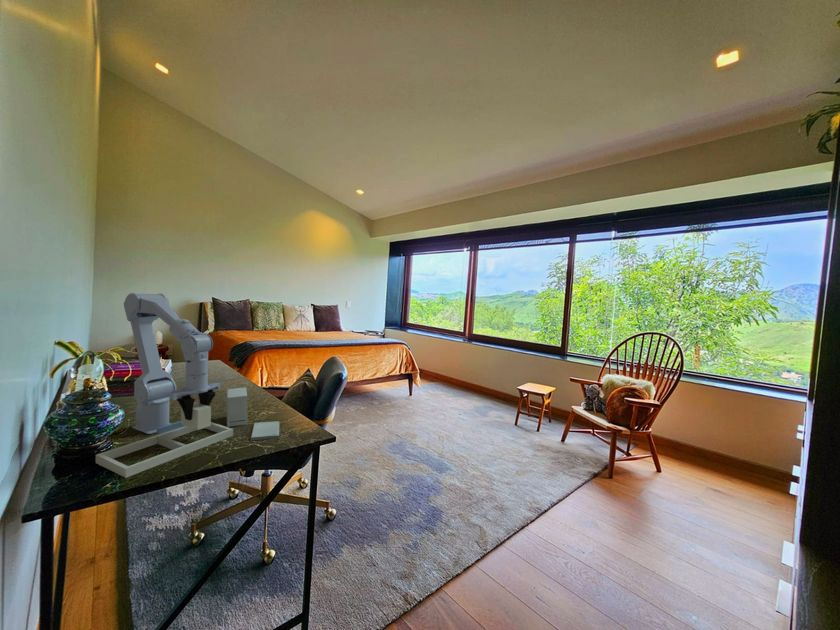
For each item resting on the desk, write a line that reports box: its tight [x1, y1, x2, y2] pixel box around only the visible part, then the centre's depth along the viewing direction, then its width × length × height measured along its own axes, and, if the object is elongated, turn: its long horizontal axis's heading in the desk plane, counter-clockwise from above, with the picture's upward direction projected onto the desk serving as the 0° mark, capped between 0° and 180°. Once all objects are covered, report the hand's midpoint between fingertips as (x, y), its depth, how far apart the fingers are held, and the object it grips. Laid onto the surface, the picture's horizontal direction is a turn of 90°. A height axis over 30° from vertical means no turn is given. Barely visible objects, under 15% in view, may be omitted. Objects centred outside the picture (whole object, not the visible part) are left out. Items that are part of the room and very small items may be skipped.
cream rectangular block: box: [180, 401, 212, 431], centre depth 106 cm, size 8×4×6 cm, turn 66°
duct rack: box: [95, 420, 234, 478], centre depth 100 cm, size 15×29×4 cm, turn 156°
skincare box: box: [226, 386, 248, 428], centre depth 123 cm, size 10×6×10 cm, turn 29°
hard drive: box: [250, 420, 280, 442], centre depth 115 cm, size 2×8×12 cm
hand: (196, 417), depth 106 cm, fingers closed on cream rectangular block, 4 cm apart
